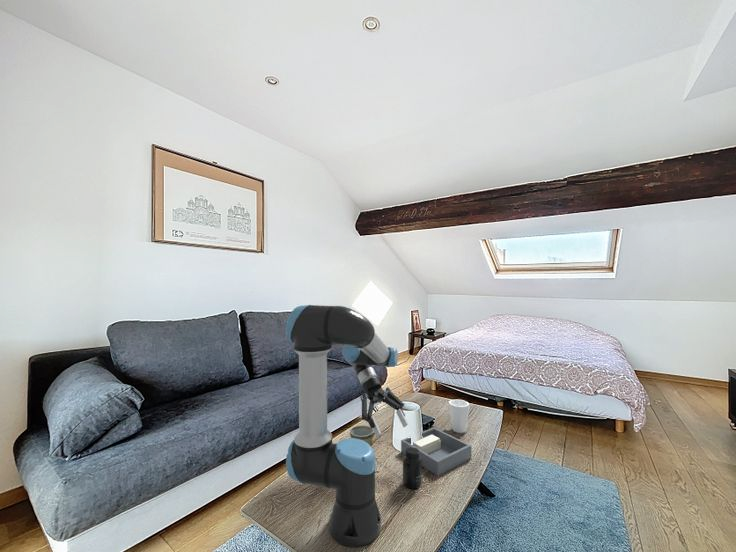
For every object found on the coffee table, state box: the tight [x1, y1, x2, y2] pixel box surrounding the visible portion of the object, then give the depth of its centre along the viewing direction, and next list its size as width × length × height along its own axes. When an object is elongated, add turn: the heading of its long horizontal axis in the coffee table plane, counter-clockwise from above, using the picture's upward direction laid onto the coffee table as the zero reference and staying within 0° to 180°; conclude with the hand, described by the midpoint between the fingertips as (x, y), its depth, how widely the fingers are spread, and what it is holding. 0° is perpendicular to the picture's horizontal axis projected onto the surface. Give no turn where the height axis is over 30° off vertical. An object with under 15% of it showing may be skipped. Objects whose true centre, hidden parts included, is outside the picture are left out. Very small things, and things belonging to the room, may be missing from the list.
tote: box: [400, 427, 472, 477], centre depth 129 cm, size 20×20×6 cm
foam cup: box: [448, 399, 470, 434], centre depth 154 cm, size 10×9×13 cm
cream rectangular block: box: [413, 435, 441, 454], centre depth 133 cm, size 12×5×4 cm, turn 126°
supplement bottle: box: [402, 447, 423, 491], centre depth 112 cm, size 7×7×12 cm
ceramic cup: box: [349, 424, 382, 447], centre depth 132 cm, size 13×10×10 cm
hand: (393, 430), depth 121 cm, fingers open, 13 cm apart
